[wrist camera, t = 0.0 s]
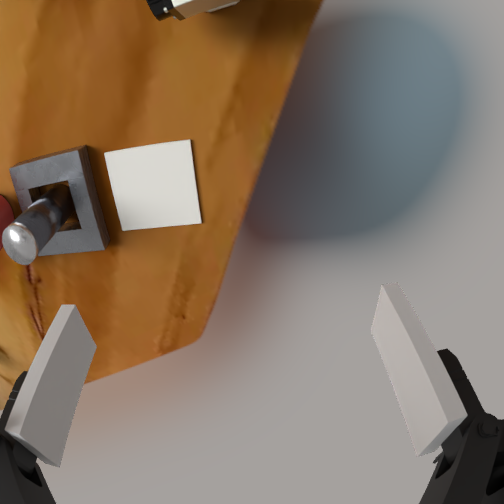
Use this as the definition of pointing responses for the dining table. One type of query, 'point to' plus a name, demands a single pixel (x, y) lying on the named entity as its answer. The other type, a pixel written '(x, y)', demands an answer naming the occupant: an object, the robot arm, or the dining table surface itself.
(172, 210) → the pad
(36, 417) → the robot arm
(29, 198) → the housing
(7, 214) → the flower pot
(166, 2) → the pneumatic valve
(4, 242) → the metal cylinder
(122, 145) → the dining table surface
